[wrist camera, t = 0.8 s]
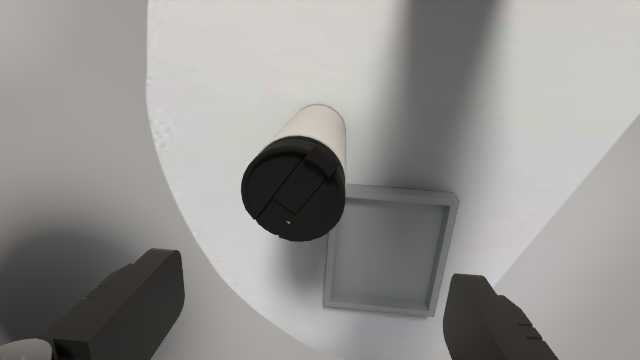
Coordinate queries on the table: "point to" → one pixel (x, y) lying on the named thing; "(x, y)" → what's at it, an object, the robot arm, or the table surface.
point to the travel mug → (300, 177)
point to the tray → (389, 250)
